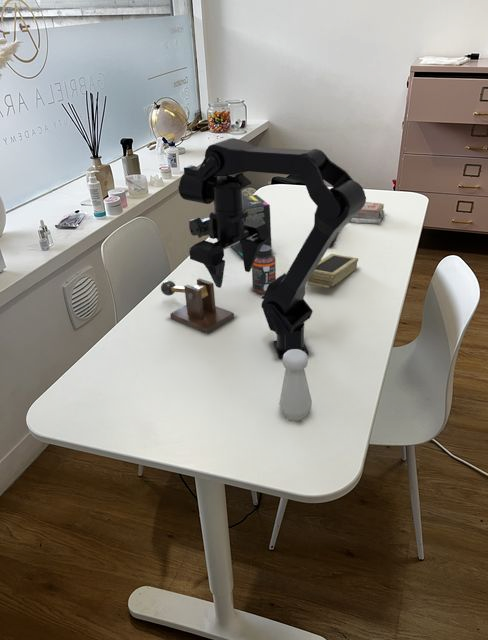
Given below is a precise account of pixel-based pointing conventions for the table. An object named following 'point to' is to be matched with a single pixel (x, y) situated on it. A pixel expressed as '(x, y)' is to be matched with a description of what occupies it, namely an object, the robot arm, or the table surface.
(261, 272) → the supplement bottle
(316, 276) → the box
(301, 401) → the salt shaker
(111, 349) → the table surface
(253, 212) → the tampon box
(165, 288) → the lever
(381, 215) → the packaged product
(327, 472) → the table surface
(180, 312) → the switch bracket
